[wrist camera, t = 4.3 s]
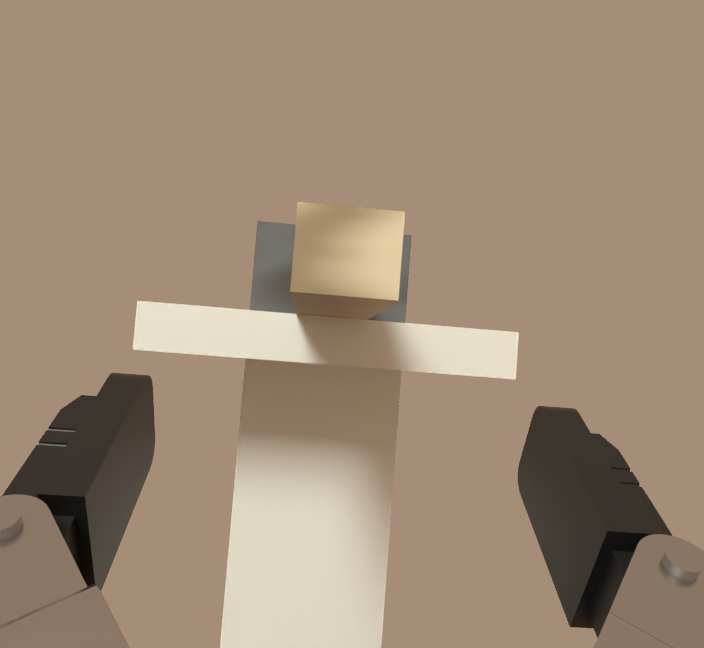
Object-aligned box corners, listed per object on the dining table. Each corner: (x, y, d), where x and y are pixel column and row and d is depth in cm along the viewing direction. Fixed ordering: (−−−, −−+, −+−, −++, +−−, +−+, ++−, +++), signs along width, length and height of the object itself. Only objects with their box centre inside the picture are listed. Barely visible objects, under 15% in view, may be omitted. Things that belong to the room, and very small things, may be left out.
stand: (55, 1136, 24) (137, 300, 26) (143, 862, 37) (194, 319, 39) (468, 1134, 25) (518, 332, 27) (413, 868, 38) (449, 340, 40)
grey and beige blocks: (198, 283, 17) (214, 104, 17) (258, 324, 38) (265, 242, 38) (487, 308, 18) (498, 133, 18) (389, 334, 38) (395, 254, 39)
